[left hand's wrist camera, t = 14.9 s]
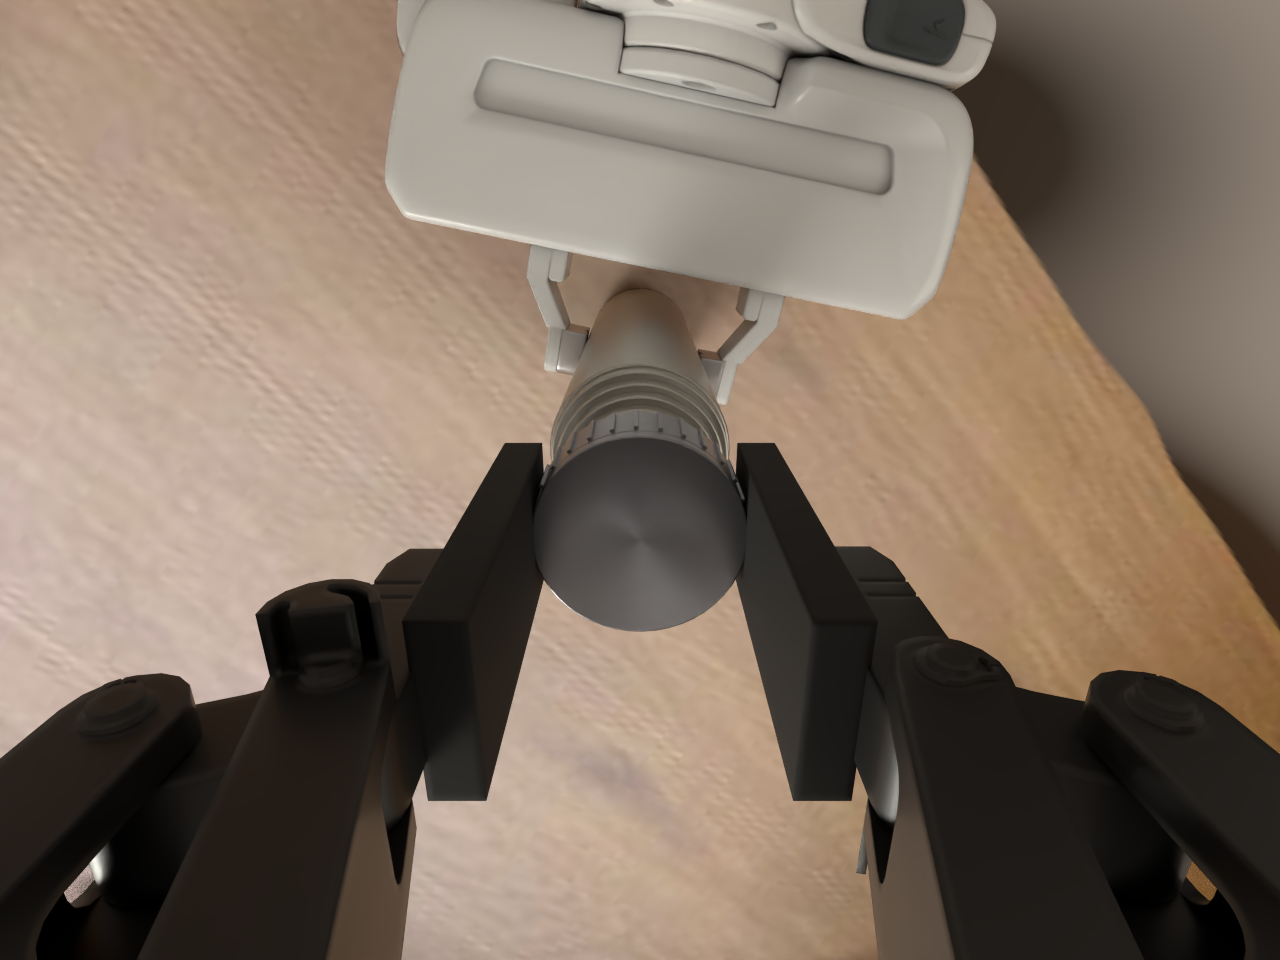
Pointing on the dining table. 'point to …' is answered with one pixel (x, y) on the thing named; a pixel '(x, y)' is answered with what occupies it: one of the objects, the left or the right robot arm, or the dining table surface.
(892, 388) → the dining table surface
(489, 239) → the dining table surface
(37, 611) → the dining table surface
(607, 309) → the bottle
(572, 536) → the cap
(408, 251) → the dining table surface
